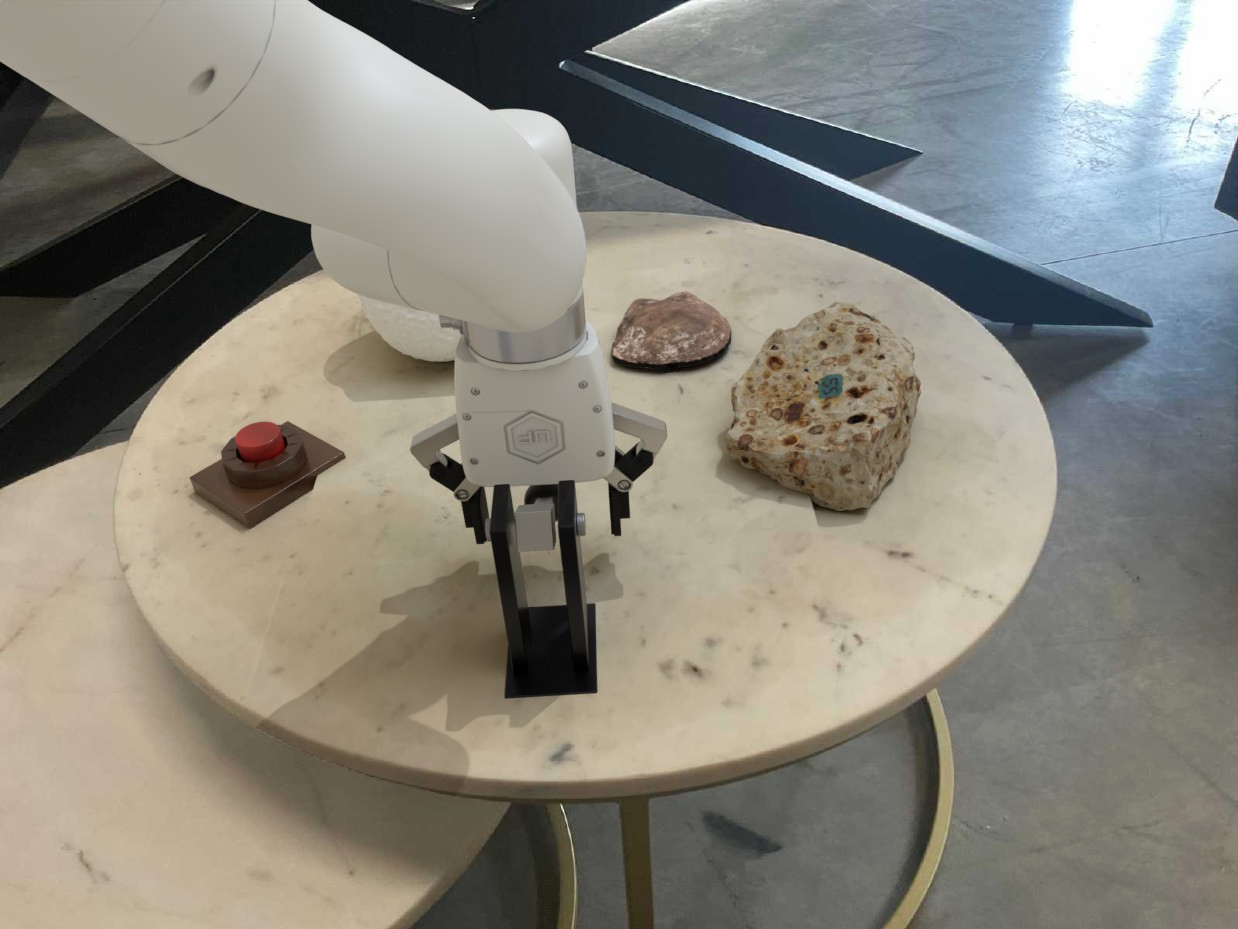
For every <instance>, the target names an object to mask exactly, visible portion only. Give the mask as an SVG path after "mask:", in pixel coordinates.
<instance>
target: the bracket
mask: <svg viewBox="0 0 1238 929" xmlns="http://www.w3.org/2000/svg"><path fill="white" fill-rule="evenodd" d="M514 513H515V511H514V504H513V496H512V489H511V487H510V484H497V485H494V487H493V490H492V499H491V510H490V517H489V518H488V519H486V522H485V531H486V539H487V542H490V544H491V550H492V556H493V562H494V568H495V574H496V580H497V585H498V592H499V597H500V598H499V599H500V603H501V610H502V615H503V622H504V627H505V633H506V639H507V653H506V668H505V683H504V699H507V700H508V699H522V698H523V699H524V698H525V699H526V698H539V697H541V698H542V697H555V696H556V697H557V696H558V697H559V696H575V695H590V694H591V695H592V694H597V693H598V658H597V655H598V654H597V613H596V612H597V609H596V607H597V606H596V603H595V602H593V603H592V602H590V603H587V593H586V581H585V573H584V572H585V571H584V561H583V551H582V542H581V541H582V540H581V537H586V535H587V527H586V526H587V525H586V514H585V512H579V510H578V500H577V489H576V483H575V481H574V480H563V481H559V488H558V521H557V533H558V534H557V535H558V542H559V550H560V559H561V560H560V561H561V568H562V569H561V570H562V577H563V578H562V579H563V586H564V594H565V602H566V604H558V605H542V606H528V599H527V591H526V586H525V584H526V583H525V578H524V572H523V565H522V559H521V552H517V541H516V527H515V514H514Z"/></svg>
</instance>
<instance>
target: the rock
mask: <svg viewBox="0 0 1238 929" xmlns="http://www.w3.org/2000/svg"><path fill="white" fill-rule="evenodd" d="M915 354H916V353H915V351H914V346H913V344H912V342H910V341H909V340H908V339H907V338H906V337H904V336H901V335H899V333H898V332H897V331H896V330H894V329H892V328H891V327H890V326H889V325H888V324H887V323H885V322H884V321H881V320H880V319H878V318H874V317H872V316H871V315H869V314H868V313H866V312H863V311H861V310H860V309H859V308H857V307H856V306H855V305H854V304H853V303H852V302H845V301H839V300H836V301H835V302H833V303H831V304H830V305H828V306H826V308H822V309H821V310H819V311H817V312H816V311H815V312H813V313H809V314H808V315H806V316H804V318H801V320H800V321H799V322H798V324H797V325H796V326H794V327H789V328H787V329H783V328H780V327H777V328H776V329H775V330H774V331H773V333H771V335H770V336H769V337H768V338H767V339H766V340H765V341H764V342H763V344H762V346H761V350H760V351H759V353H757V355H756V356H755V358H754V359H753V361H752V363H751V365H750V366H749V368H748V369H747V370H746V371H745V372H744V373H743V374H742V376H741V377H740V379H739V380H738V381H736V382H735V383H734V384H733V385H732V386H731V388H730V389H731V390H730V392H731V394H730V395H731V396H730V402H731V405H732V412H734V416H733V419H732V422H731V424H730V426H729V429H728V430H727V432H726V433H725V436H724V438H723V439H724V442H725V448H726V450H727V452H728V455H729V457H730V459H731V460H733V461H735V463H738V464H739V465H740V466H742V467H743V468H746V469H748V470H755V471H758V472H759V473H760V474H763V475H766V476H768V477H770V479H771V480H775V481H777V482H778V484H779V485H780V486H782V487H784V488H787V489H789V490H793V491H796V492H801V493H803V494H807V495H808V496H809V498H810V502H813V503H814V504H816V505H817V506H819V507H822V508H827V509H831V510H834V511H838V512H842V511H846V510H847V511H853V510H859V509H870V508H871V507H872V502H874V500H875V499H876V498H877V497H878V496H880V495H881V493H882V492H883V489H884V488H885V485H886V484H887V483H888V482H889V480H891V479H892V478H894V477H895V476H896V474H897V470H898V465H899V462H900V461H901V460H902V458H903V457H904V456H905V455H906V454H907V452H908V450H909V447H910V445H911V434H912V433H911V430H912V425H913V422H914V420H915V418H916V417H917V416H916V415H917V412H918V408H917V406H918V402H919V399H920V397H921V395H922V389H921V386H922V382H921V380H920V378H919V377H918V375H917V374H916V371H915V369H914V362H915V357H916V356H915Z"/></svg>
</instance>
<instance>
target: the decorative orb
mask: <svg viewBox="0 0 1238 929" xmlns="http://www.w3.org/2000/svg"><path fill="white" fill-rule="evenodd" d="M310 254H311V252H310ZM357 296H358V298H359V301H360V304H361V307H362V309H363V312H364V314H365V315H366V317H367V320H368V322H370V324H371V325H372V327H373V328H374V330H375V331H376V332H377V334H378V335H380V336H381V338H382V340H383V341H385V342H387V344H388V345H389V346H390V347H391V348H393V349H395V350H396V351H398V352H400V353H401V354H402V355H407V356H409V357H412V358H414V359H416V360H419V359H420V360H423V361H425V362H438V363H442V362H453V361H455V352H456V347H457V345H458V342H459V339H460V337H461V336H462V334H460V331H459V330H453V328H441V326H440V321H439V315H438V314H434V313H430V312H426V311H420V310H415V309H411V308H407V307H402V306H398V305H394V304H390V303H386V302H382V301H379V300H375V299H371V298H368V297H365V296H362V295H358V294H357Z"/></svg>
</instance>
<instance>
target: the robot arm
mask: <svg viewBox="0 0 1238 929" xmlns="http://www.w3.org/2000/svg"><path fill="white" fill-rule="evenodd" d="M0 63H2V64H4V65H5V66H7V67H8V68H10V69H11V70H13V71H15V72H16V73H18V74H19V75H21V76H22V77H24V78H26V79H28V80H29V81H31V82H33V83H34V84H36V85H37V86H39V87H40V88H42V89H44V90H45V91H46V92H48V93H50V94H51V95H52V96H54V97H56V98H58V99H59V100H61V101H62V102H64V103H65V104H67V105H69V106H70V107H71V108H73V109H75V110H77V111H78V112H80V113H81V114H83V115H85V116H86V117H88V118H89V119H90V120H92V121H94V122H95V123H97V124H98V125H100V126H102V127H103V128H105V129H106V130H108V131H109V132H111V133H113V134H114V135H115V136H117V137H119V138H120V139H122V140H123V141H124V142H126V143H128V144H129V145H131V146H132V147H134V148H135V149H137V150H139V151H140V152H142V153H143V154H145V155H147V156H148V157H150V158H151V159H153V160H154V161H156V162H157V163H159V164H160V165H161V166H163V167H165V168H166V169H167V170H169V171H171V172H172V173H174V174H176V175H178V176H180V177H182V178H184V179H186V180H188V181H190V182H192V183H194V184H196V185H198V186H200V187H203V188H206V189H209V190H211V191H213V192H215V193H218V194H219V195H223V196H225V197H227V198H230V199H233V200H234V201H237V202H239V203H242V204H245V205H247V206H250V207H253V208H256V209H259V210H262V211H265V212H268V213H271V214H274V215H277V216H281V217H284V218H288V219H290V220H291V219H292V220H295V221H299V222H302V223H306V224H310V225H311V227H310V236H311V238H310V239H311V244H312V247H313V251H314V254H315V257H316V259H317V261H318V263H319V265H320V266H321V268H322V269H323V271H324V272H325V273H326V274H327V275H328V277H329V278H331V279H332V280H333V281H334V282H335V283H336V284H338V285H339V286H340V287H343V288H345V289H346V290H348V291H350V292H352V293H354V294H356V295H357V296H358V295H362V296H365V297H368V298H371V299H375V300H379V301H382V302H386V303H390V304H394V305H398V306H402V307H407V308H411V309H415V310H420V311H426V312H430V313H434V314H438V315H439V321H440V326H441V328H453V330H459V331H460V334H462V336H461V337H460V339H459V342H458V345H457V347H456V352H455V360H454V365H453V366H454V367H453V368H454V370H453V372H454V376H453V379H454V381H453V383H454V401H455V413H454V414H453V415H451V416H448V417H447V418H445V419H443V420H441V421H439V422H437V423H435V424H434V425H432V426H430V427H428V428H426V429H424V430H422V431H420V432H418V433H416V434H415V435H413V436H412V439H411V443H410V446H409V447H410V448H409V450H410V452H409V453H410V454H411V455H412V457H414V458H415V460H416V461H417V462H418V463H419V464H420V465H421V467H423V468H424V469H426V470H427V471H428V474H429V477H430V478H431V479H432V480H434V482H436V483H438V484H440V485H441V486H443V487H445V488H446V489H448V490H449V491H451V492H453V497H454V499H455V500H456V501H459V502H460V505H461V509H462V515H463V520H464V526H465V528H466V529H472V528H473V533H474V538H475V544H476V545H484V544H485V543H487V542H488V541H487V539H486V531H485V522H486V519H488V518H490V512H489V507H488V506H489V505H488V501H487V494H486V488H494V485H497V484H510V488H512V487H525V486H526V487H529V486H531V485H548V484H559V481H563V480H574V481H575V484H579V483H587V482H588V483H589V482H595V481H599V480H602V479H604V481H606V482H607V488H608V504H609V505H608V507H609V520H610V529H611V530H610V533H611V534H610V535H612V536H614V537H622V520H624V519H631V508H630V507H631V504H630V491H631V490H632V489H633V486H634V484H633V483H634V482H635V481H637V480H638V479H639V478H640V477H641V476H642V475H643V474H644V473H645V472H646V471H648V470H649V469H650V468H651V467H652V466H653V465H654V460H655V458H656V456H657V455H659V453H660V451H661V449H662V448H663V446H664V444H665V443H666V441H667V439H668V428H667V423H666V422H665V421H664V420H662V419H659V418H657V417H654V416H652V415H648V414H646V413H644V412H640V411H637V410H634V409H632V408H630V407H627V406H623V405H622V404H621V405H620V404H619V403H615V402H612V396H611V388H610V382H609V377H608V372H607V366H606V362H605V361H606V360H605V357H604V353H603V349H602V346H601V341H600V339H599V335H598V334H597V330H596V328H595V326H594V325H593V324H592V323H591V322H589V321H588V320H586V308H585V307H586V306H585V297H584V284H583V282H584V276H585V274H586V266H587V259H588V258H587V240H586V231H585V229H584V225H583V221H582V217H581V216H580V212H579V210H578V205H577V192H576V178H575V166H574V156H573V147H572V141H571V139H570V136H569V134H568V131H567V130H566V127H564V125H562V123H561V122H560V121H559V120H557V118H555V117H552V116H551V115H549V114H547V113H544V112H541V111H537V110H530V109H525V108H523V109H522V108H503V109H502V108H501V109H493V110H491V109H489V108H488V107H487V106H485V105H483V103H480V102H479V101H477V100H475V99H474V98H472V97H471V96H469V95H468V94H467V93H465V92H464V91H462V90H460V89H458V88H457V87H455V86H453V85H451V84H450V83H448V82H446V81H445V80H443V79H441V78H440V77H438V76H436V75H434V74H432V73H431V72H429V71H427V70H426V69H424V68H422V67H420V66H419V65H417V64H415V63H414V62H412V61H410V60H409V59H407V58H405V57H404V56H403V55H401V54H399V53H397V52H396V51H393V50H392V49H391V48H390V47H388V46H387V45H385V44H383V43H381V42H380V41H378V40H376V39H375V38H374V37H372V36H370V35H368V34H367V33H365V32H363V31H361V30H359V29H357V28H356V27H354V26H352V25H350V24H348V23H347V22H344V21H342V20H341V19H339V18H337V17H335V16H333V15H331V14H330V13H328V12H327V11H324V10H323V9H321V8H319V7H318V6H316V4H314V3H313V2H311V1H309V0H0ZM615 431H618V432H621V433H624V434H626V435H629V436H631V437H635V438H636V439H637V438H638V439H640V440H639V441H638V442H636V444H635V445H633V446H632V447H631V448H630V449H629V450H628V451H626V453H625V452H624V451H623V450H622V449H621V448H619V446H617V445H616V437H615V434H616V433H615ZM457 441H459V448H460V456H461V463H460V462H458V461H457V460H455V459H453V457H451V456H449V455H448V454H446V453H444V452H442V450H441V449H444V448H446V447H447V446H449V445H451V444H453V443H455V442H457Z"/></svg>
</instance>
